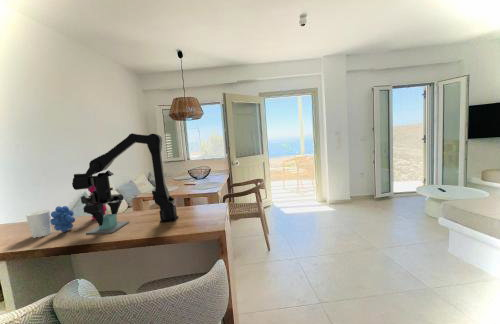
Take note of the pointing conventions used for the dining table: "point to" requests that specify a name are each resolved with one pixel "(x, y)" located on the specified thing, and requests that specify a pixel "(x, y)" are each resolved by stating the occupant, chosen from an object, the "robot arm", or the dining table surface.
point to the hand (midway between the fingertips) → (107, 221)
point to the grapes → (62, 218)
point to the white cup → (39, 223)
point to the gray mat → (112, 230)
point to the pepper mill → (97, 202)
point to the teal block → (109, 221)
